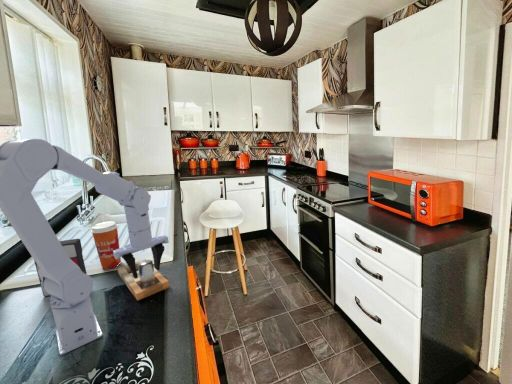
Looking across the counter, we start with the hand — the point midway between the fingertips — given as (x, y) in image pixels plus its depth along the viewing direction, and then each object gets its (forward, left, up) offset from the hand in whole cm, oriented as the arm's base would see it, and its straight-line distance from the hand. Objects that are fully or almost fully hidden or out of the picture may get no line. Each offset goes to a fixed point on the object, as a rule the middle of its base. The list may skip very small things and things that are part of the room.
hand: (146, 272), depth 78 cm
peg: (0, 0, -5) cm, 5 cm away
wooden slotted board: (+6, 0, -5) cm, 8 cm away
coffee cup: (+25, +4, -5) cm, 26 cm away
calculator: (+17, +18, -5) cm, 26 cm away
